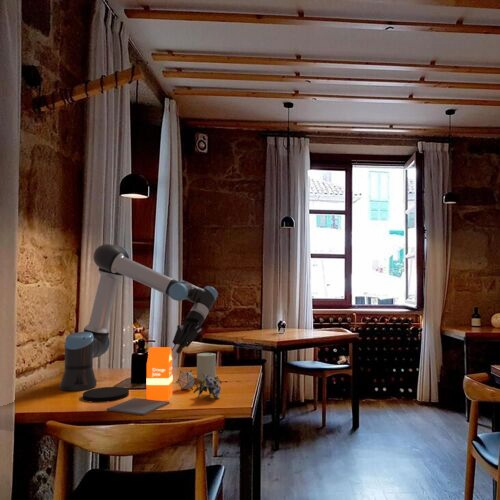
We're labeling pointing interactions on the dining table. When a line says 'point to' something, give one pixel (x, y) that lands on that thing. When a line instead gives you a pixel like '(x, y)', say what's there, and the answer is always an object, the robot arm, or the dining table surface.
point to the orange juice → (159, 374)
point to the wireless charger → (105, 394)
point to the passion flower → (209, 386)
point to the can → (206, 365)
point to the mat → (138, 406)
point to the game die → (186, 380)
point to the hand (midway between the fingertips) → (171, 358)
